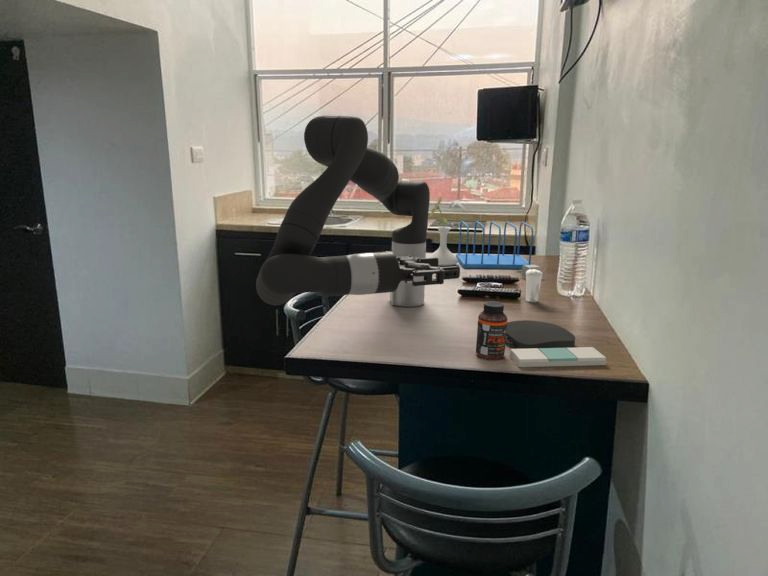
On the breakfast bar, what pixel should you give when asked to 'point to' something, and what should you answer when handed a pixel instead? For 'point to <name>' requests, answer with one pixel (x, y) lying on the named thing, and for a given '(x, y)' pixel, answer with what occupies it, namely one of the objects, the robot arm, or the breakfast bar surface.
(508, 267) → the file sorter
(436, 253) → the flower in vase
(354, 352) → the breakfast bar surface
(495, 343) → the supplement bottle
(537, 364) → the key strip
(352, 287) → the robot arm
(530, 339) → the media streaming box
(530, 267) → the usb wall charger
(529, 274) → the milkshake
